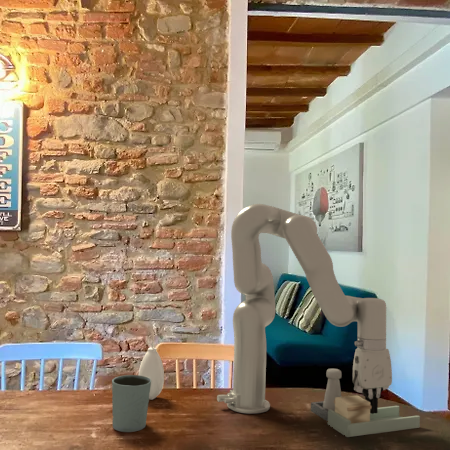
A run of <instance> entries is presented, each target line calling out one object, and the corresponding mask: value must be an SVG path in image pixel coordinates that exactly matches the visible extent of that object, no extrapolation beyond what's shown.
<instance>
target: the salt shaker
mask: <svg viewBox="0 0 450 450" xmlns="http://www.w3.org/2000/svg"><path fill="white" fill-rule="evenodd" d="M325 374H326V378H327V384H326V389H325V392H324V399H323V401H324V402H323V408H324V409H326V410H330V409H331V410H333V411H335V403H334V400H335V397H343V396H342V390H341V382H340V379H342V370H340V369H338V368H328V369H327V370H326V373H325Z"/></svg>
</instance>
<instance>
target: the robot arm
mask: <svg viewBox="0 0 450 450" xmlns="http://www.w3.org/2000/svg"><path fill="white" fill-rule="evenodd" d="M230 231H231V232H230V233H231V236H230V237H231V248H232V250H231V251H232V267H233V268H232V270H233V283H234V287H235V288H236V291H238V293H240V294H242V295H245V300H243V301H242V302H240V303H239V304H238V305H237V306H236V307H235V309H234V311H233V315H232V327H233V339H234V340H233V341H234V342H233V343H234V344H233V377H232V378H233V379H232V380H233V381H232V383H233V384H232V389H229V392H228V393H227V394H217V396H216V400H217V402H219V403H220V402H224V404H226V405H227V408H228V409H229V410H231V411H234V412H237V413H241V414H255V415H256V414H262V413H265V412H268V411H269V410H270V408H271V403H270V402H269V401H268V400H266V372H267V369H266V368H267V338H266V337H267V336H266V335H267V334H266V327H267V326H269V325H270V324H271V323H272V322H273V321H274V319H275V316H276V298H275V297H276V296H275V286H274V285H275V284H274V276H273V273H272V271H271V269H270V268H269V267H268V266H267V264H265V263H263V262H262V261H263V260H262V250H261V249H262V247H261V244H260V239H259V237H260V234H269V235H273V236H276V237H279V238H281V239H285V240H286V242H287V244H288V246H289V248H290V250H291V251H292V253H293V254H294V256H295V258H296V259H297V262H298V264H299V265H300V266H301V269H302V270H303V272H304V274H305V278H306V280H307V282H308V285H309V287H310V290H311V292H312V295H313V297H314V299H315V301H316V302H317V305H318V306H319V307H320V309H321V311H322V313H323V315H324V316H325V318H326V320H327V321H328V322H329V323H330V324H331V325H333V326H335V327H340V328H341V327H346V326H348V325H350V324H351V323H354V322H357V338H356V339H357V340H356V341H354V346H355V347H357V348H356V349H355V352H354V356H353V357H354V358H353V362H352V364H353V365H352V383H353V386H354V387H353V390H354V391H355V392H357V393H360V394H362V396H363V397H364V399H365V400H367V401H369V402H370V405H371V406H372V408H371V409H370V413H371V414H374V413H377V412H378V408H379V401H378V400H379V398H380V397H381V394H382V392H383V391H385V390H387V389H389V387H390V386H391V385H392V383H393V373H392V372H393V371H392V369H393V367H392V361H391V360H392V359H391V353H390V351H389V349H388V348H387V304H386V301H385V300H384V299H381V298H378V297H377V298H376V297H364V298H362V297H356V296H351V295H345V293H344V292H343V289H342V287H341V286H340V284H339V281H338V280H337V278H336V275H335V271H334V265H333V264H334V263H333V260H332V257H331V255H330V253H329V252H328V251H327V249H326V246H325V245H324V243H323V242H322V240H321V239H320V237H319V234H318V227H317V224H316V222H315V220H313V218H311V217H309V216H306V215H303V214H298V213H295V212H292V211H288V210H285V209H282V208H279V207H276V206H272V205H268V204H264V203H255V204H254V203H253V204H250V205H247V206H246V207H244V208H243V209H242V210H240V212H238V214H237V215H236V216H235V217H234V220H233V221H232V224H231V230H230Z"/></svg>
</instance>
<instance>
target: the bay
mask: <svg viewBox="0 0 450 450" xmlns="http://www.w3.org/2000/svg"><path fill="white" fill-rule="evenodd" d="M420 419H421V416H420V415H412V416H411V415H410V416H404V417H403V416H401V415H400V406H399V405H392V406H390V405H389V406H383V407H378V412H377V413H374V414H371V413H370V421H368V422H360V423H352V424H351V421H350V420H348V419H346V418H345V417H343V416H341V415H340V414H338V413H336V412H335V411H333V410H331V409H330V410H328V422H327V425H328V426H329V425H330V426H329V427H331V428H332V427H333V428H332V429H334V430H335V431H337V432H338V433H340V434H341V435H343V436H344V435H345V437H346V438H350V437H357V436H364V435H365V436H366V435H373V434H381V433H388V432H396V431H403V430H405V431H406V430H412V429H417V428H420V427H421V425H420V424H421V422H420Z"/></svg>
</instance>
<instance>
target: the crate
mask: <svg viewBox="0 0 450 450" xmlns="http://www.w3.org/2000/svg"><path fill="white" fill-rule="evenodd" d="M334 403H335V412H336V413H338V414H340V415H341V416H343V417H345V418H346V419H348V420H350V421H351V424H352V423H360V422H368V421H370V409H371V408H372V406H371V405H370V402H369V401H367V400H365V398H363V397H361V396H359V395H356V394H355V395H347V396H345V395H344V396H342V397H335V400H334Z"/></svg>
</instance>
